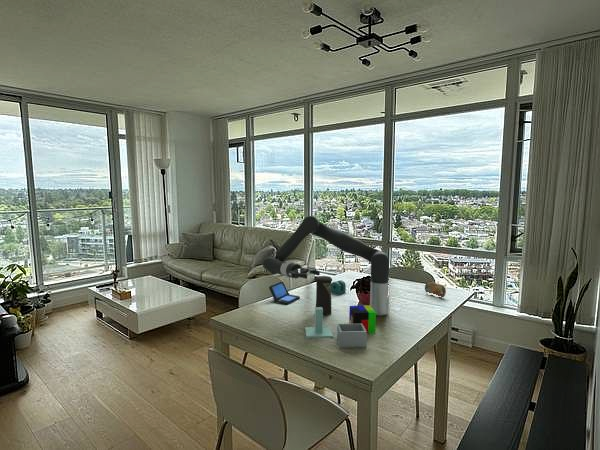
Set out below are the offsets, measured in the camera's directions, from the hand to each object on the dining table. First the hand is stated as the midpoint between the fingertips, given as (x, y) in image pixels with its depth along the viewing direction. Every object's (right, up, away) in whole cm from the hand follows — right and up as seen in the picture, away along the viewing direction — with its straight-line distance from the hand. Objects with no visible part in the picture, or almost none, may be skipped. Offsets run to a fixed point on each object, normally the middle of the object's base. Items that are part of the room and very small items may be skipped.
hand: (313, 274), depth 165 cm
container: (+6, -24, +19) cm, 31 cm away
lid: (+2, -26, -7) cm, 27 cm away
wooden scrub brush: (+79, -21, +51) cm, 96 cm away
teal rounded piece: (+15, -20, +61) cm, 65 cm away
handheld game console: (-15, -22, +41) cm, 49 cm away
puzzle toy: (+23, -26, -2) cm, 35 cm away
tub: (+16, -27, -18) cm, 36 cm away
